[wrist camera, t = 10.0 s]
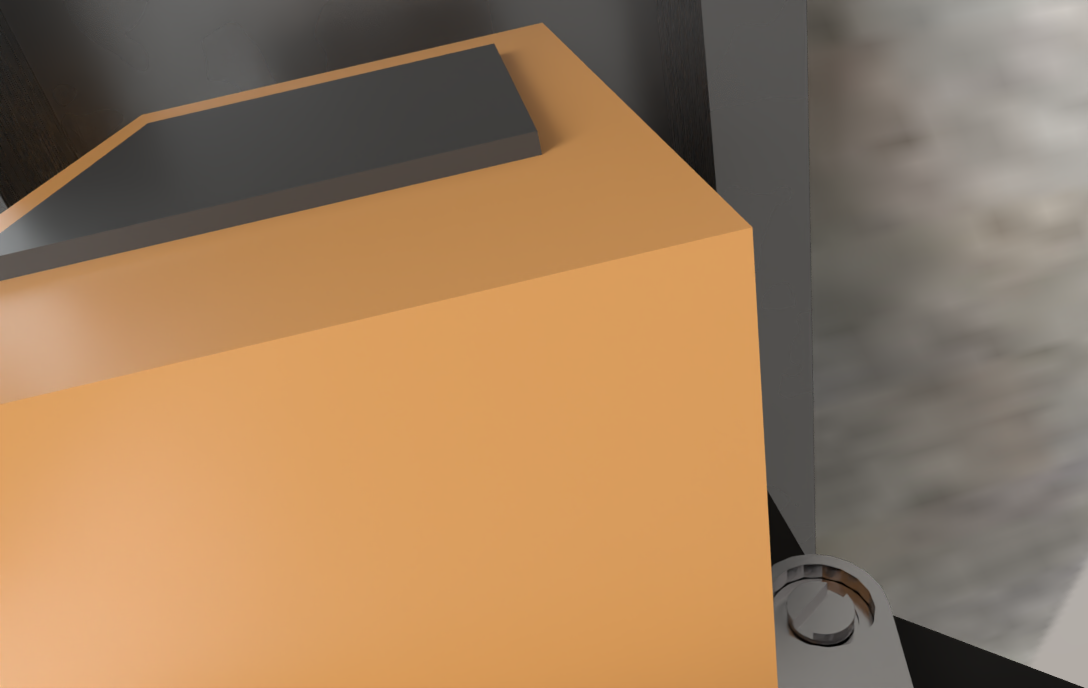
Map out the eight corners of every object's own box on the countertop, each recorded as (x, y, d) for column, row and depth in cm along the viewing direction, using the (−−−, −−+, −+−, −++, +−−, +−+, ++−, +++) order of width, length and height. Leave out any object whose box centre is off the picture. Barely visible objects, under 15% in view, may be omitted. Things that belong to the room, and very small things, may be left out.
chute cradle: (763, 594, 22) (950, 966, 14) (323, 704, 22) (266, 1147, 14) (692, -450, 11) (1385, -1406, 3) (-215, -251, 10) (-2041, -732, 3)
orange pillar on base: (694, 674, 16) (895, 1252, 9) (399, 746, 16) (374, 1387, 9) (596, -4, 9) (1092, 245, 2) (79, 115, 9) (-1020, 749, 2)
